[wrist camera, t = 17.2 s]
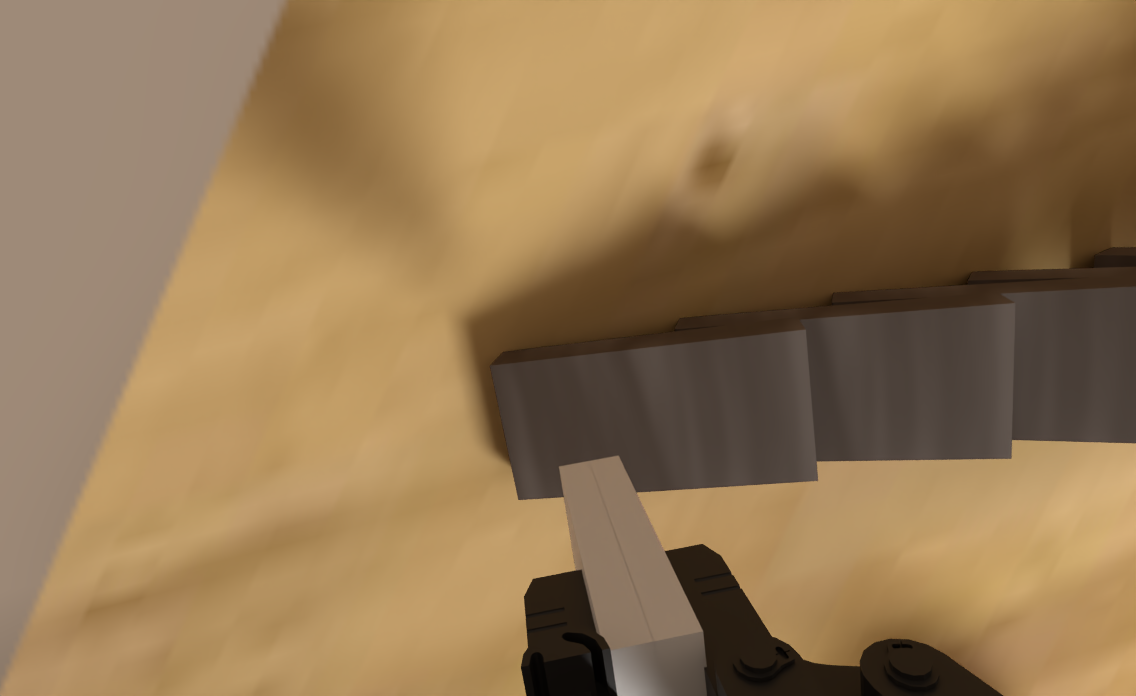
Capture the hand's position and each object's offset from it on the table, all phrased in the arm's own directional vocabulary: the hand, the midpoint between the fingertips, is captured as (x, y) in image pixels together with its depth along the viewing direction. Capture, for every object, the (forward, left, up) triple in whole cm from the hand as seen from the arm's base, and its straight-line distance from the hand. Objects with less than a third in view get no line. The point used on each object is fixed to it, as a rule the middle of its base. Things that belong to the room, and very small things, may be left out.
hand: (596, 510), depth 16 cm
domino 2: (+4, 0, -7) cm, 8 cm away
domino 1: (-2, 0, -7) cm, 7 cm away
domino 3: (+10, 0, -7) cm, 12 cm away
